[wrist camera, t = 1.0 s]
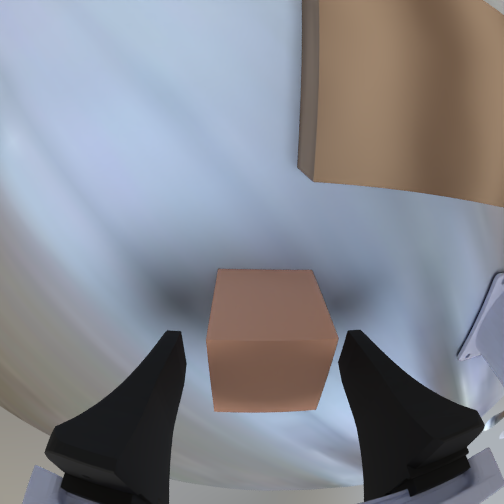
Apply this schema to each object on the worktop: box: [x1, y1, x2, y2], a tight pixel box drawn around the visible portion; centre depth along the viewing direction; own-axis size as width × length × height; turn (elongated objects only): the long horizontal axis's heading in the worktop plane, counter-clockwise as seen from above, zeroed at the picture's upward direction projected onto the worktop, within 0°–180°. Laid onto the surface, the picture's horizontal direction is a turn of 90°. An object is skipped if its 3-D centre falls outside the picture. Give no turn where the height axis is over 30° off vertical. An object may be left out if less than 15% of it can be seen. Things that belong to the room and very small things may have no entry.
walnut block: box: [297, 0, 504, 208], centre depth 8 cm, size 10×10×4 cm
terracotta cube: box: [206, 269, 339, 412], centre depth 12 cm, size 4×4×5 cm
